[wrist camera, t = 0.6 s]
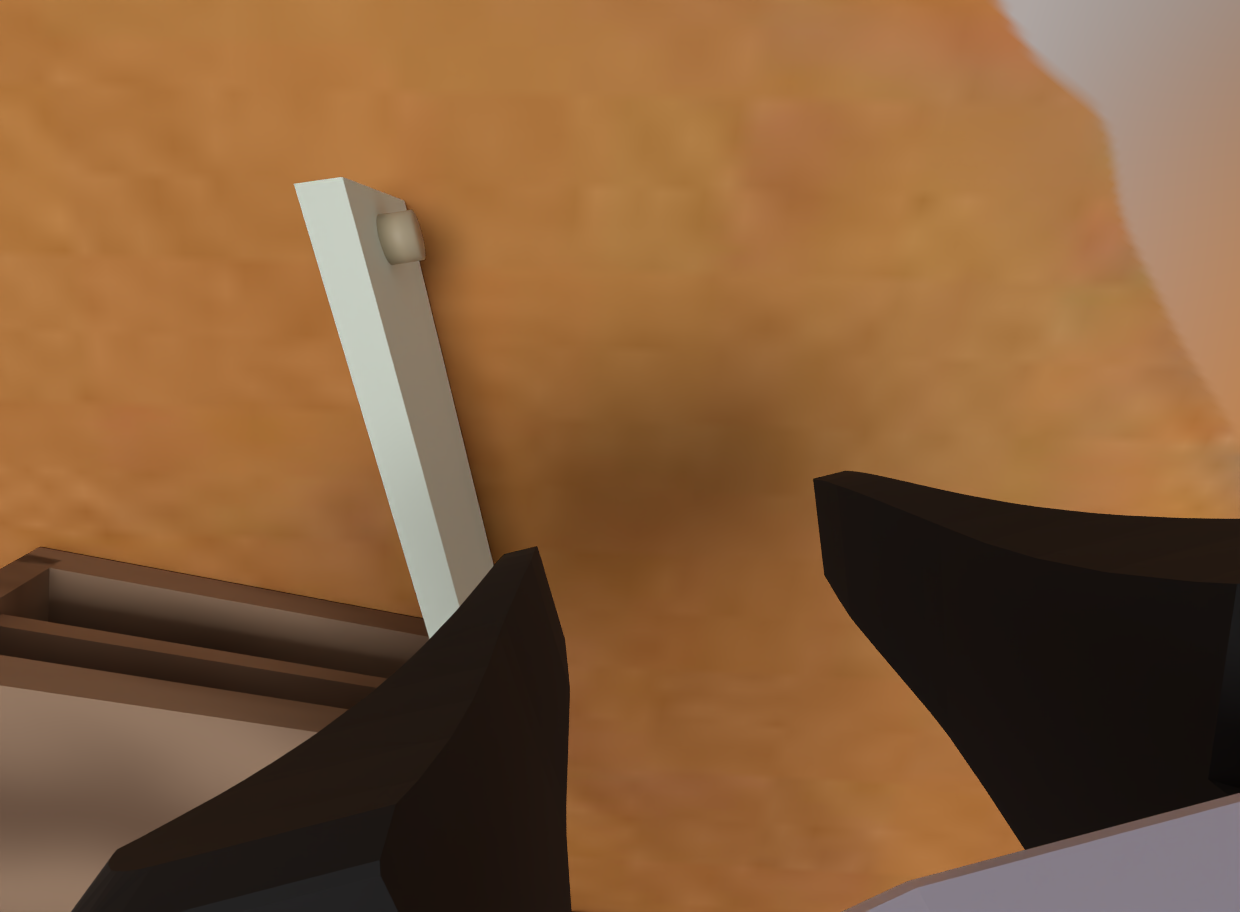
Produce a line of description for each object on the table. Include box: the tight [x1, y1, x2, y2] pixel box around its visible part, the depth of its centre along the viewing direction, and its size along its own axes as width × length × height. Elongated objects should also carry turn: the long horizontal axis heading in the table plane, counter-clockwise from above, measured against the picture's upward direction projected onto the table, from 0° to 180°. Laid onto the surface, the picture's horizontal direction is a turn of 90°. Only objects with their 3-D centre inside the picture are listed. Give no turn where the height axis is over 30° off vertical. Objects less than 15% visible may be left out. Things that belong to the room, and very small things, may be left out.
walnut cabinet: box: [0, 547, 429, 912], centre depth 20 cm, size 10×16×6 cm, turn 73°
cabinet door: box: [294, 177, 494, 639], centre depth 18 cm, size 2×15×6 cm, turn 8°
